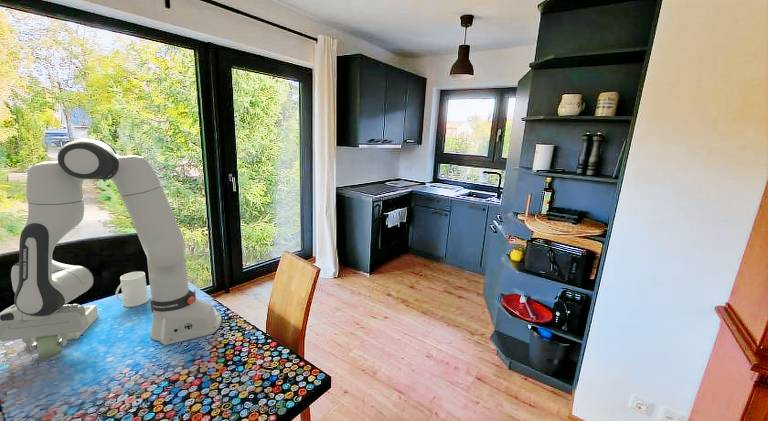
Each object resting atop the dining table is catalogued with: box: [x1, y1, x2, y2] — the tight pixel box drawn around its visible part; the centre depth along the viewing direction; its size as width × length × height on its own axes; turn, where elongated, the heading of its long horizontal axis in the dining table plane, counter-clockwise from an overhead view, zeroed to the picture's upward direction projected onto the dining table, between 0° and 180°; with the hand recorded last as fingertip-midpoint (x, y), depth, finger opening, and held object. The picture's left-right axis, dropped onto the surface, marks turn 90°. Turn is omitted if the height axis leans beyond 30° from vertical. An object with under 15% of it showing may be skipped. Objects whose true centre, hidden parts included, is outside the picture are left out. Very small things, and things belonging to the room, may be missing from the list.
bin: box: [32, 304, 99, 341], centre depth 109 cm, size 13×14×5 cm
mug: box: [115, 271, 150, 308], centre depth 127 cm, size 12×8×12 cm
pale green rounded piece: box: [35, 335, 63, 359], centre depth 98 cm, size 5×5×6 cm
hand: (49, 346), depth 98 cm, fingers open, 5 cm apart
